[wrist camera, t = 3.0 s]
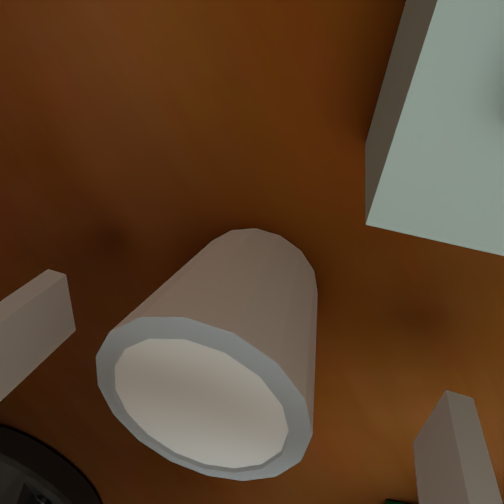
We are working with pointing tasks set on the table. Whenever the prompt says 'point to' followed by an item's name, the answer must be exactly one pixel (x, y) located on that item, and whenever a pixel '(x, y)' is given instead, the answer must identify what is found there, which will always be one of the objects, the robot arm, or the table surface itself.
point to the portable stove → (441, 127)
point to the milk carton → (393, 502)
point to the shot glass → (221, 360)
